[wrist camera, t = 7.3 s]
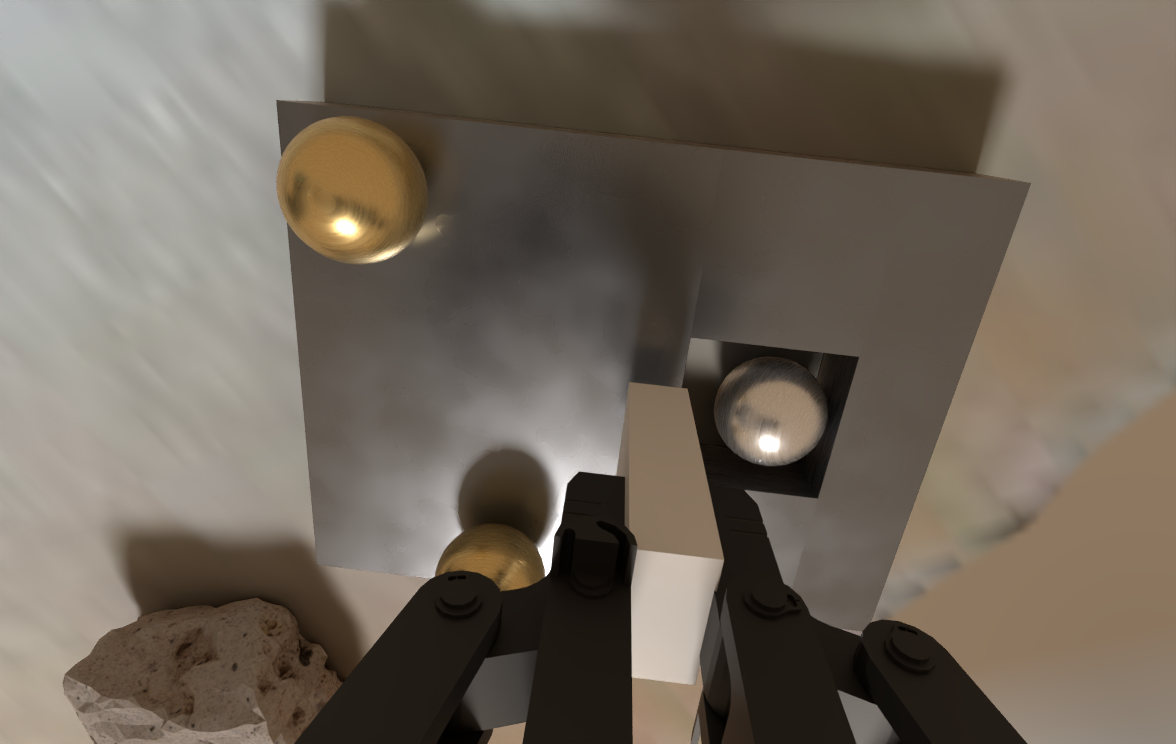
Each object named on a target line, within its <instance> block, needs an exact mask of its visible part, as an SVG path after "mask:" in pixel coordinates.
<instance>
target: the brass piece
mask: <svg viewBox="0 0 1176 744" xmlns="http://www.w3.org/2000/svg"><path fill="white" fill-rule="evenodd" d="M276 183H277V195H278V200H279V204H280V207H281V210H282V212H283V215H284V217H285V219H286V221H287V222H288V224H289V226H290V227H291V228H292V230H293V231H294V232H295V234H296V235H297V236H298V237H299V238H300V239H301V240H302V241H303V242H304V243H305V244H307V245H308V246H309V247H310V248H312V249H313V250H314V251H316V252H318V253H320V254H321V255H323V256H325V257H328V258H330V259H333V260H336V261H339V262H343V263H349V264H372V263H377V262H381V261H383V260H386V259H389V258H391V257H393V256H395V255H397V254H398V253H400V252H401V251H402V250H404V249H405V248H406V247H407V246H408V245H409V244H410V243H411V242H412V241H413V240H414V239H415V238H416V236H417V235H418V233H419V231H420V230H421V228H422V226H423V223H424V221H425V218H426V215H427V210H428V200H429V196H428V186H427V181H426V177H425V174H424V171H423V168H422V166H421V164H420V162H419V160H418V158H417V157H416V155H415V153H414V152H413V151H412V149H411V148H410V147H409V146H408V145H407V144H406V143H405V141H404V140H403V139H402V138H400V137H399V136H398V135H397V134H395V133H394V132H393V131H391V130H389V129H388V128H386V127H385V126H383V125H381V124H378V123H376V122H374V121H371V120H368V119H364V118H359V117H353V116H339V117H331V118H327V119H323V120H320V121H317V122H315V123H313V124H311V125H309V126H308V127H306V128H305V129H303V130H302V131H300V132H299V133H298V134H297V135H296V136H295V137H294V138H293V139H292V141H291V142H290V143H289V144H288V146H287V147H286V149H285V151H284V153H283V155H282V157H281V160H280V163H279V167H278V171H277V181H276Z"/></svg>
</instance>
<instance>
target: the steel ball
mask: <svg viewBox="0 0 1176 744" xmlns="http://www.w3.org/2000/svg"><path fill="white" fill-rule="evenodd" d="M714 418H715V423H716V426H717V429H718V432H719V434H720V436H721V438H722V439H723V441H724V442H725V443H726V445H727V446H728V447H729V448H730V449H731V450H732V451H733V452H734V453H736V454H737V455H738V456H740V457H741V458H743V459H745V460H747V461H749V462H752V463H755V464H759V465H764V466H779V465H785V464H789V463H792V462H795V461H797V460H799V459H801V458H802V457H804V456H805V455H807V454H808V453H809V452H810V451H811V450H812V449H813V448H814V447H815V446H816V445H817V443H818V442H819V441H820V439H821V437H822V435H823V433H824V431H825V428H826V424H827V419H828V406H827V400H826V397H825V394H824V391H823V389H822V387H821V385H820V384H819V382H818V381H817V379H816V378H815V377H814V376H813V375H812V374H811V373H810V372H809V371H808V370H807V369H805V368H804V367H803V366H801V365H799V364H798V363H796V362H794V361H791V360H788V359H784V358H781V357H759V358H755V359H752V360H749V361H746V362H744V363H742V364H740V365H739V366H737V367H736V368H735V369H733V370H732V371H731V372H730V373H729V374H728V375H727V376H726V377H725V379H724V380H723V382H722V383H721V385H720V387H719V389H718V391H717V394H716V398H715V403H714Z"/></svg>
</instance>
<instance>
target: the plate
mask: <svg viewBox="0 0 1176 744" xmlns="http://www.w3.org/2000/svg"><path fill="white" fill-rule="evenodd" d="M276 101H277V113H278V124H279V136H280V147H281V157H282V155H283V153H284V151H285V149H286V147H287V146H288V144H289V143H290V142H291V141H292V139H293V138H294V137H295V136H296V135H297V134H298V133H299V132H300V131H302V130H303V129H305V128H306V127H308V126H309V125H311V124H313V123H315V122H317V121H320V120H323V119H327V118H331V117H339V116H353V117H359V118H364V119H368V120H371V121H374V122H376V123H378V124H381V125H383V126H385V127H386V128H388V129H389V130H391V131H393V132H394V133H395V134H397V135H398V136H399V137H400V138H402V139H403V140H404V141H405V143H406V144H407V145H408V146H409V147H410V148H411V149H412V151H413V152H414V153H415V155H416V157H417V158H418V160H419V162H420V164H421V166H422V168H423V171H424V174H425V177H426V181H427V186H428V196H429V200H428V210H427V215H426V218H425V221H424V223H423V226H422V228H421V230H420V231H419V233H418V235H417V236H416V238H415V239H414V240H413V241H412V242H411V243H410V244H409V245H408V246H407V247H406V248H405V249H404V250H402V251H401V252H400V253H398V254H397V255H395V256H393V257H391V258H389V259H386V260H383V261H381V262H377V263H372V264H349V263H343V262H339V261H336V260H333V259H330V258H328V257H325V256H323V255H321V254H320V253H318V252H316V251H314V250H313V249H312V248H310V247H309V246H308V245H307V244H305V243H304V242H303V241H302V240H301V239H300V238H299V237H298V236H297V235H296V234H295V232H294V231H293V230H292V228H291V227H290V226H289V224H288V222H287V227H288V238H289V250H290V261H291V273H292V284H293V295H294V307H295V318H296V330H297V341H298V353H299V364H300V375H301V387H302V398H303V410H304V421H305V432H306V444H307V455H308V467H309V478H310V490H311V501H312V512H313V524H314V535H315V547H316V558H317V565H324V566H332V567H340V568H348V569H356V570H365V571H373V572H381V573H389V574H397V575H405V576H414V577H422V578H430V579H431V578H433V577H435V572H436V568H437V565H438V562H439V560H440V557H441V555H442V554H443V552H444V550H445V549H446V547H447V546H448V545H449V544H450V543H451V542H452V540H453V539H455V538H456V537H457V536H458V535H460V534H461V533H462V532H464V531H466V530H468V529H470V528H472V527H475V526H478V525H483V524H492V523H495V524H503V525H507V526H510V527H513V528H515V529H517V530H519V531H521V532H522V533H523V534H525V535H526V536H527V537H528V538H529V539H530V540H531V541H532V542H533V543H534V544H535V546H536V547H537V549H538V551H539V553H540V555H541V557H542V560H543V563H544V567H545V575H547V574H548V573H549V571H550V570H551V561H552V551H553V540H554V535H555V533H556V531H557V529H558V527H559V526H560V524H561V518H562V513H563V506H564V501H565V494H566V488H567V483H568V482H569V481H570V480H571V479H572V478H573V477H574V476H575V475H576V474H577V473H578V472H579V471H580V472H589V473H597V474H606V475H614V476H616V473H617V465H618V458H619V451H620V444H621V436H622V429H623V422H624V415H625V407H626V400H627V393H628V386H629V382H633V383H642V384H651V385H659V386H668V387H677V388H682V383H683V377H684V372H685V366H686V360H687V355H688V349H689V343H690V337H691V338H700V339H709V340H717V341H726V342H735V343H744V344H752V345H761V346H770V347H778V348H787V349H796V350H804V351H813V352H822V353H824V355H823V359H822V363H821V367H820V370H819V374H818V378H817V381H818V382H819V384H820V385H821V387H822V389H823V391H824V394H825V397H826V400H827V406H828V419H827V424H826V428H825V431H824V433H823V435H822V437H821V439H820V441H819V442H818V443H817V445H816V446H815V447H814V448H813V449H812V450H811V451H810V452H809V453H808V454H807V455H805V456H804V457H802V458H801V459H799V460H797V461H795V462H792V463H789V464H785V465H779V466H764V465H759V464H755V463H752V462H749V461H747V460H745V459H743V458H741V457H740V456H738V455H737V454H736V453H734V452H733V451H732V450H731V449H730V448H729V447H721V446H713V445H704V444H699V445H700V449H701V454H702V459H703V463H704V468H705V473H706V477H707V482H708V485H712V486H721V487H729V488H738V489H744V490H745V491H746V493H747V494H748V495H749V496H750V497H751V498H752V499H753V500H754V501H755V502H756V503H757V504H758V507H759V510H760V513H761V516H762V519H763V524H764V525H765V528H766V531H767V537H769V540H770V543H771V546H772V549H773V552H774V555H775V558H776V561H777V564H778V567H779V570H780V573H781V576H782V579H783V583H784V584H786V585H788V586H789V587H790V588H792V589H793V590H794V591H795V592H796V593H797V594H799V595H800V596H801V598H802V599H803V601H804V603H805V604H806V606H807V607H808V610H809V612H810V615H811V616H812V617H814V618H816V619H817V620H819V621H821V622H824V623H826V624H828V625H830V626H833V627H836V628H839V629H847V630H855V631H863V630H864V629H865V628H866V626H867V625H868V624H869V623H871V620H872V618H873V615H874V612H875V610H876V607H877V604H878V601H879V599H880V596H881V593H882V590H883V588H884V585H885V582H886V579H887V577H888V574H889V571H890V568H891V566H892V563H893V560H894V557H895V555H896V552H897V549H898V546H899V544H900V541H901V538H902V536H903V533H904V530H905V527H906V525H907V522H908V519H909V516H910V514H911V511H912V508H913V505H914V503H915V500H916V497H917V494H918V492H919V489H920V486H921V483H922V481H923V478H924V475H925V472H926V470H927V467H928V464H929V462H930V459H931V456H932V453H933V451H934V448H935V445H936V442H937V440H938V437H939V434H940V431H941V429H942V426H943V423H944V420H945V418H946V415H947V412H948V409H949V407H950V404H951V401H952V399H953V396H954V393H955V390H956V388H957V385H958V382H959V379H960V377H961V374H962V371H963V368H964V366H965V363H966V360H967V357H968V355H969V352H970V349H971V346H972V344H973V341H974V338H975V335H976V333H977V330H978V327H979V325H980V322H981V319H982V316H983V314H984V311H985V308H986V305H987V303H988V300H989V297H990V294H991V292H992V289H993V286H994V283H995V281H996V278H997V275H998V272H999V270H1000V267H1001V264H1002V261H1003V259H1004V256H1005V253H1006V251H1007V248H1008V245H1009V242H1010V240H1011V237H1012V234H1013V231H1014V229H1015V226H1016V223H1017V220H1018V218H1019V215H1020V212H1021V209H1022V207H1023V204H1024V201H1025V198H1026V196H1027V193H1028V190H1029V187H1030V185H1031V183H1027V182H1022V181H1016V180H1010V179H1004V178H999V177H993V176H987V175H982V174H976V173H966V172H957V171H948V170H939V169H930V168H921V167H912V166H903V165H894V164H885V163H875V162H866V161H857V160H848V159H839V158H830V157H821V156H812V155H803V154H793V153H784V152H775V151H766V150H757V149H748V148H739V147H730V146H721V145H711V144H702V143H693V142H684V141H675V140H666V139H657V138H648V137H639V136H629V135H620V134H611V133H602V132H593V131H584V130H575V129H566V128H557V127H547V126H538V125H529V124H520V123H511V122H502V121H493V120H484V119H475V118H465V117H456V116H447V115H438V114H429V113H420V112H411V111H402V110H393V109H383V108H374V107H365V106H356V105H347V104H338V103H329V102H311V101H283V100H276Z"/></svg>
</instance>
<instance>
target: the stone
mask: <svg viewBox="0 0 1176 744" xmlns="http://www.w3.org/2000/svg"><path fill="white" fill-rule="evenodd" d="M298 632H299V629H298V624H297V620H296V618H295V617H294V616H293V615H292V613H291V612H290V611H289V610H288V608H286V607H284V606H282V605H275V604H271V603H268V602H264V601H262V600H260V599H259V598H252V599H248V600H242V601H236V602H232V603H229V604H226V605H223V606H220V607H218V608H214V607H212V606H208V605H198V606H189V607H184V608H180V609H176V610H174V609H166V610H162V611H158V612H154V613H150V614H147V615H144V616H141V617H138V620H137V621H136V622H133V623H131V624H129V625H127V626H125V627H122V628H118V629H114V630H111V631H110V632H108V633H107V634H106V635H104V636H103V637H102V638H101V639H99V641H98V642H97V644H96V645H95V647H94V649H93V650H92V652H91V653H90V655H89V656H87V657H86V658H84V659H83V660H81V661H80V662H78V663H77V664H75V665H74V666H73V667H72V668H71V669H70V670H69V671H68V672H67V673H66V674H65V676H64V680H63V687H64V691H65V692H64V694H65V696H66V697H67V699H68V700H69V701H70V703H71V704H72V706H73V708H74V709H75V711H76V713H77V715H78V717H79V720H80V721H81V722H82V724H83V725H84V727H85V729H86V731H87V732H88V734H89V736H90V737H91V739H92V741H93V742H94V744H294V743H295V742H296V740H297V739H298V738H299V737H300V735H301V734H302V733H303V732H304V730H305V729H306V728H307V727H308V725H309V724H310V723H311V722H312V721H313V719H314V718H315V717H316V716H317V714H318V713H319V712H320V711H321V709H322V708H323V707H324V706H325V705H326V703H327V702H328V701H329V700H330V698H331V697H332V696H333V695H334V693H335V692H336V691H337V690H338V689H339V687H340V686H341V685H342V684H343V682H341V681H340V680H339V679H338V678H337V674H336V671H332V670H327V669H326V668H325V666H324V664H325V662H326V660H327V658H328V656H327V654H326V653H325V651H324V649H323V648H322V647H321V646H320V645H319V644H317V643H311V642H309V641H307V640H306V639H304V638H303V637H302V636H301V635H300V634H299V633H298Z"/></svg>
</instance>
